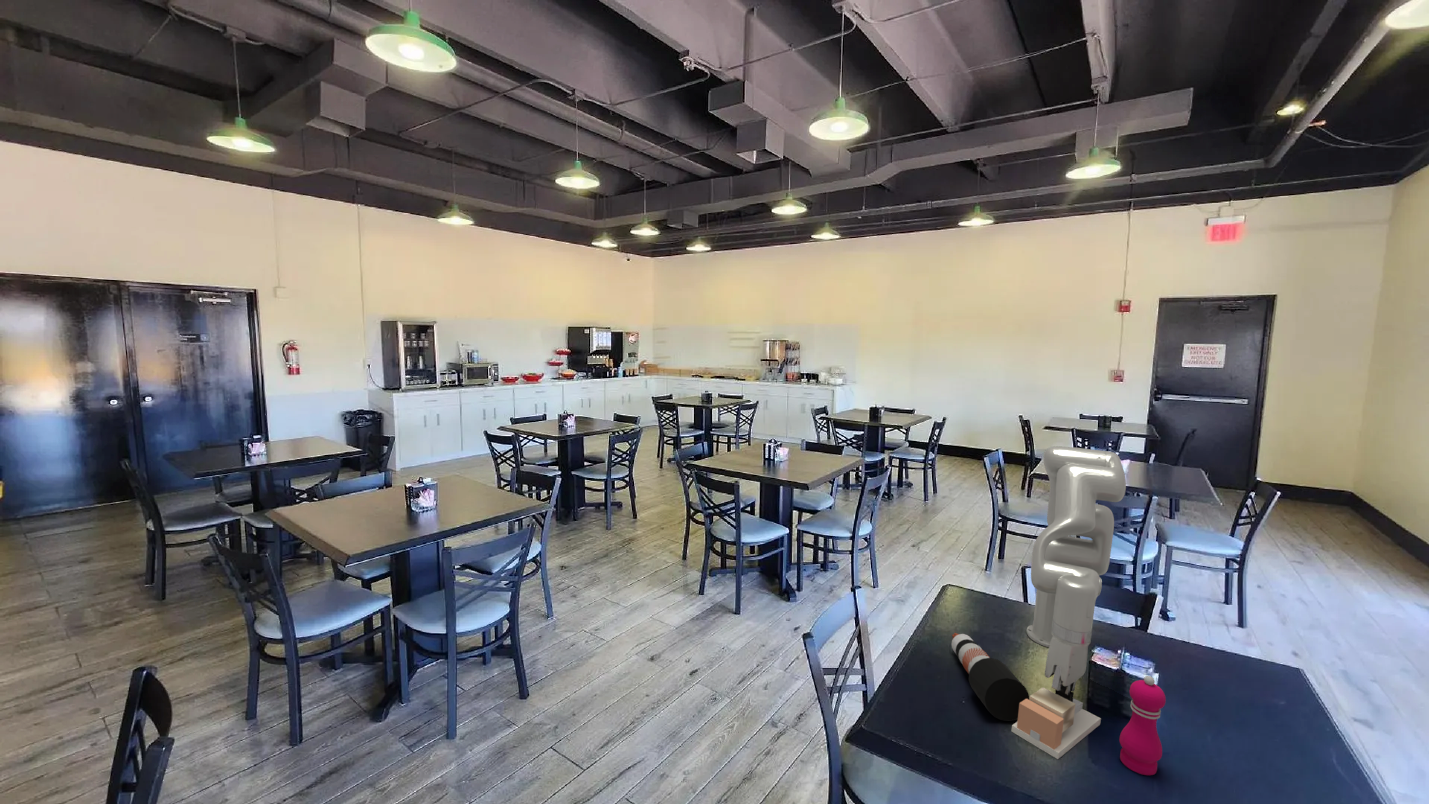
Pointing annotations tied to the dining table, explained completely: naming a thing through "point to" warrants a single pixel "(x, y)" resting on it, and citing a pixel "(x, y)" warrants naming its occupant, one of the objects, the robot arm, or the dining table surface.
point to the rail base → (1069, 734)
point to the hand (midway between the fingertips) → (1062, 706)
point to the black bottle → (990, 679)
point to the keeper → (1055, 705)
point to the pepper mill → (1143, 728)
